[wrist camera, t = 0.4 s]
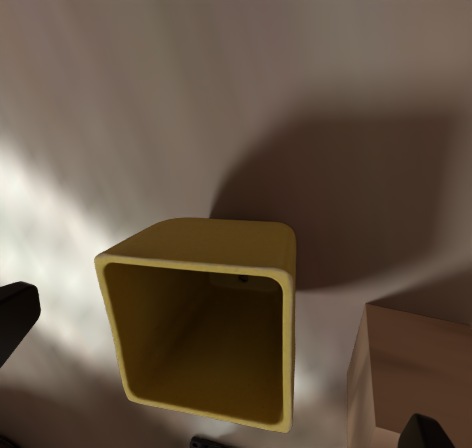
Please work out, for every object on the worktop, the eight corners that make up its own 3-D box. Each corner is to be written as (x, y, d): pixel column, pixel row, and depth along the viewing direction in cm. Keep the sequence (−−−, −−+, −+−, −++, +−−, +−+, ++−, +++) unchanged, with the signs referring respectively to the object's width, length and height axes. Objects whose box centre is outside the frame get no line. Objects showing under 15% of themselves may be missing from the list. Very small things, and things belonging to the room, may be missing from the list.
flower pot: (309, 319, 25) (291, 439, 17) (190, 305, 27) (124, 403, 19) (312, 196, 21) (292, 271, 13) (176, 191, 24) (89, 253, 16)
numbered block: (437, 402, 24) (482, 564, 16) (345, 378, 26) (345, 517, 18) (469, 325, 22) (541, 473, 14) (365, 303, 23) (375, 426, 15)
